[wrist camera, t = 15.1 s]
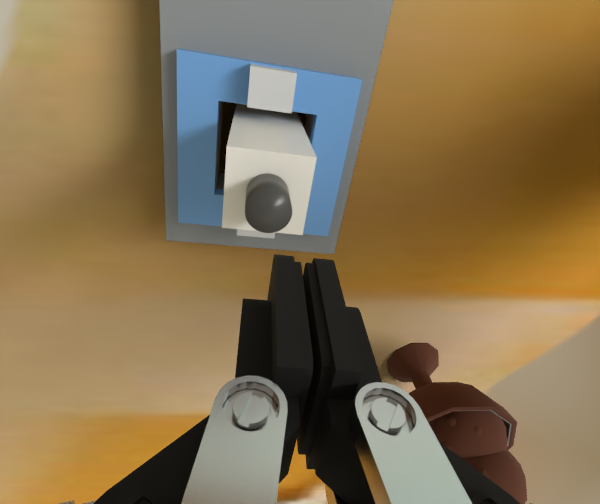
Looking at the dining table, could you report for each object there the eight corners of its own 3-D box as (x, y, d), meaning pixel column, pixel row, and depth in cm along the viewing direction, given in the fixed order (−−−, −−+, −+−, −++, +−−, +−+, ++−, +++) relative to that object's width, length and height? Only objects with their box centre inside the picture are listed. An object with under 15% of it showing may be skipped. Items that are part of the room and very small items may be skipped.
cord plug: (296, 112, 25) (323, 172, 15) (288, 169, 27) (307, 256, 17) (236, 103, 25) (223, 160, 15) (232, 162, 27) (218, 248, 17)
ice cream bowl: (419, 304, 36) (510, 463, 23) (483, 354, 40) (588, 509, 27) (340, 368, 39) (381, 536, 26) (407, 407, 44) (469, 566, 31)
